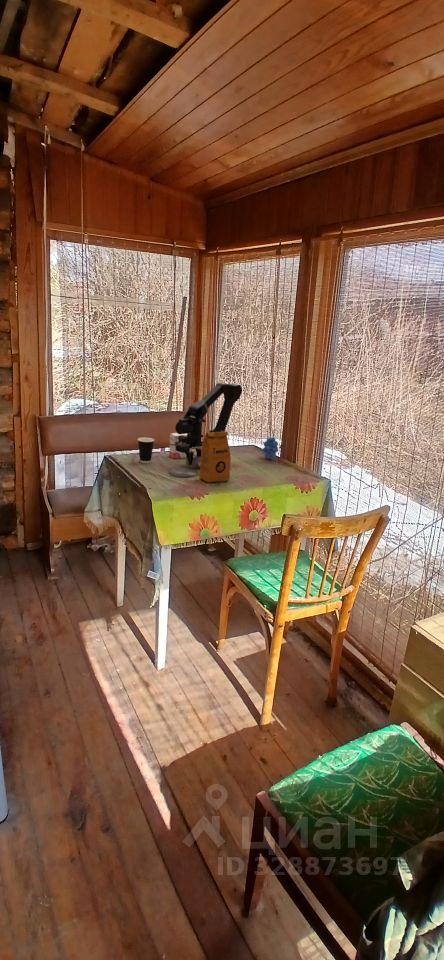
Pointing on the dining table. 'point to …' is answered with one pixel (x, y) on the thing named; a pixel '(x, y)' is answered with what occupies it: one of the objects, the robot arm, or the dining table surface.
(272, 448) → the grapes
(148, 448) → the dixie cup
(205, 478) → the coffee package
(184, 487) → the dining table surface
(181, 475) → the gray plate
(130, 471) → the dining table surface
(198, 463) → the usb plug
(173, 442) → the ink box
